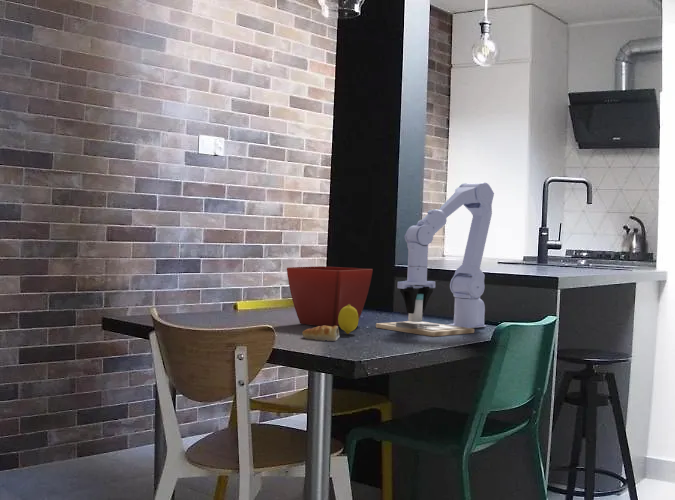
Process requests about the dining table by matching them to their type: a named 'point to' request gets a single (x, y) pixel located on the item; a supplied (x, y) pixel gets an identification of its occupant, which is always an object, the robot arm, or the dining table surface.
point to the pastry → (322, 333)
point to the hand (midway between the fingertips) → (415, 312)
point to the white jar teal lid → (417, 309)
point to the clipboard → (425, 328)
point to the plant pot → (327, 292)
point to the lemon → (348, 318)
